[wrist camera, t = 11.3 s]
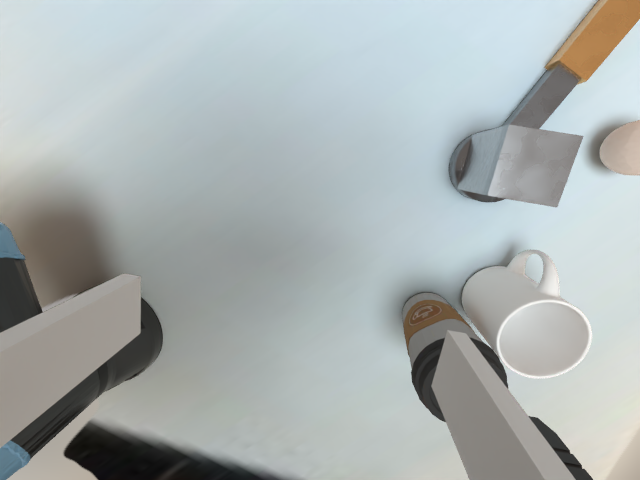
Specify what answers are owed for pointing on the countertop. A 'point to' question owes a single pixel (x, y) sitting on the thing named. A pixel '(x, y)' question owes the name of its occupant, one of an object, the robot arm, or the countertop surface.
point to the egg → (622, 149)
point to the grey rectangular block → (520, 164)
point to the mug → (527, 318)
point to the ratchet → (563, 73)
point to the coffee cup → (436, 343)
